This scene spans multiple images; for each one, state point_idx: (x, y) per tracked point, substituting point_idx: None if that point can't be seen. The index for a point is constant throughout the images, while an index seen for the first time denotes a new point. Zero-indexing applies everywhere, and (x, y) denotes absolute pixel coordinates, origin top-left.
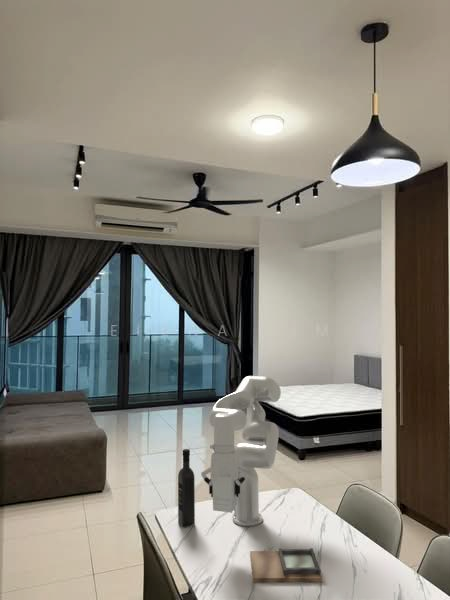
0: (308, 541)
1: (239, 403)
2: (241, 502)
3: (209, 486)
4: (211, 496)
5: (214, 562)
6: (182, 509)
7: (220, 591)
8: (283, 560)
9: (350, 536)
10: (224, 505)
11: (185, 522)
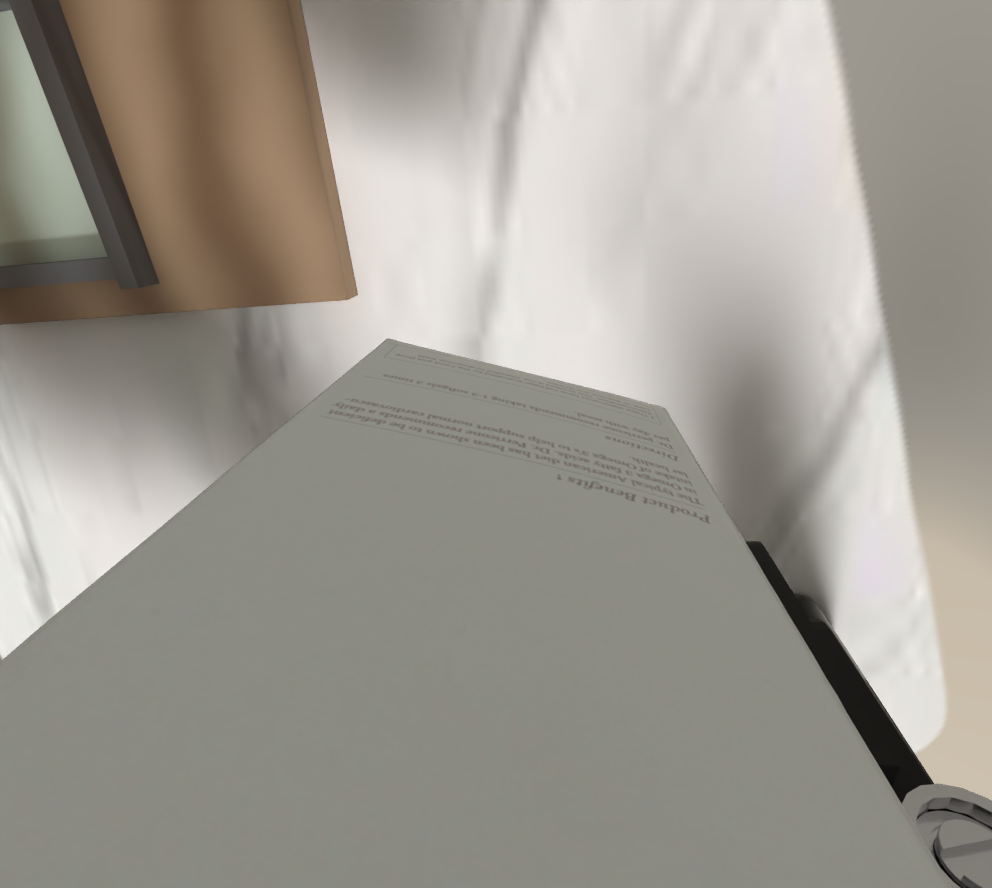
0: (64, 458)
1: None
2: None
3: (925, 786)
4: (756, 548)
5: (596, 184)
6: (872, 692)
7: None
8: (58, 114)
9: None
10: (479, 392)
11: None
